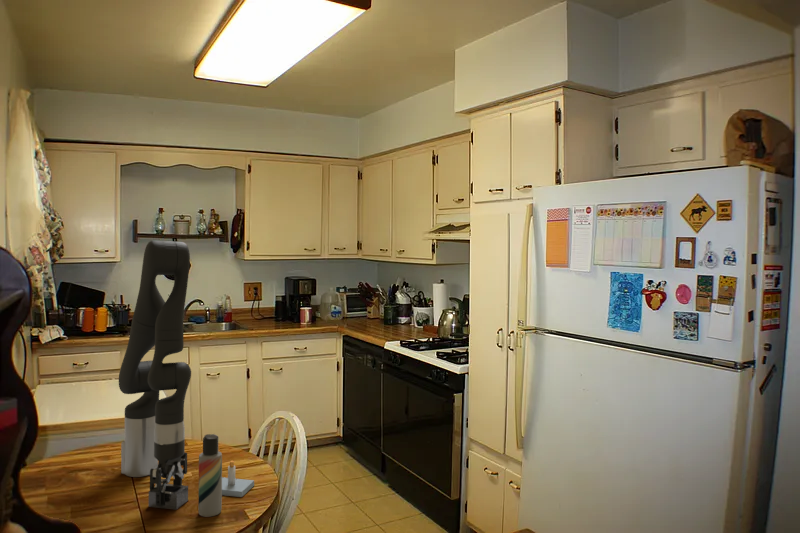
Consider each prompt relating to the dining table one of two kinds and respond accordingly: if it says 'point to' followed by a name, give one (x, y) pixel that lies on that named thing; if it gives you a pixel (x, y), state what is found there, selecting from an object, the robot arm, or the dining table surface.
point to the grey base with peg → (235, 484)
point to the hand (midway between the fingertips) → (169, 499)
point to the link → (171, 496)
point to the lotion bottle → (210, 477)
